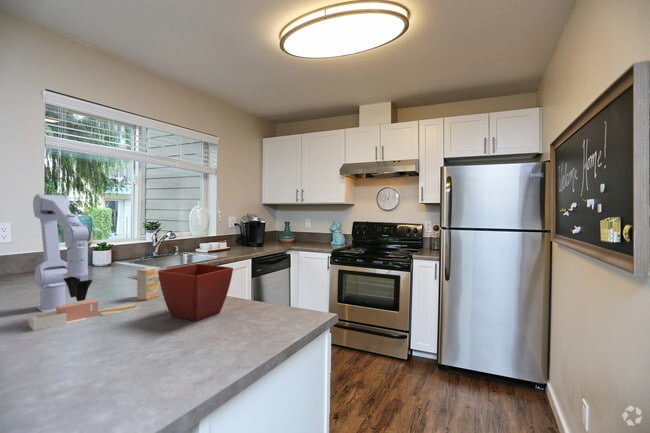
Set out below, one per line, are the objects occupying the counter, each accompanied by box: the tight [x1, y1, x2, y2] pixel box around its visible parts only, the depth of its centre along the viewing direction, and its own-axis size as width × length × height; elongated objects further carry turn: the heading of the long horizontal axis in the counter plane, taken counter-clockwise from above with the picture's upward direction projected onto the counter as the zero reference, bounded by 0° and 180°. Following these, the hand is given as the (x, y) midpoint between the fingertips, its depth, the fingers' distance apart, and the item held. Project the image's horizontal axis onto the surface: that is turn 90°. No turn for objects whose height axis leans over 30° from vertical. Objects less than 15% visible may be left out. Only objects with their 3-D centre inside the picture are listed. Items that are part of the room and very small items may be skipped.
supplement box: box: [136, 266, 161, 302], centre depth 139 cm, size 8×5×13 cm, turn 168°
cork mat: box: [98, 303, 141, 317], centre depth 122 cm, size 9×13×1 cm
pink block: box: [56, 299, 99, 322], centre depth 112 cm, size 4×11×5 cm, turn 142°
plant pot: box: [158, 263, 234, 322], centre depth 118 cm, size 19×19×17 cm
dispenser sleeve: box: [28, 310, 104, 331], centre depth 110 cm, size 8×19×4 cm, turn 142°
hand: (77, 298), depth 112 cm, fingers open, 7 cm apart
